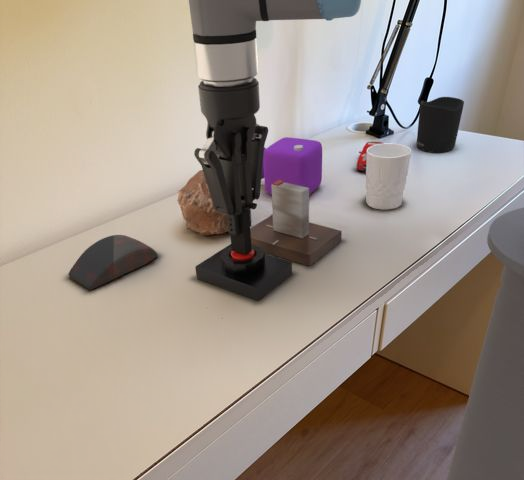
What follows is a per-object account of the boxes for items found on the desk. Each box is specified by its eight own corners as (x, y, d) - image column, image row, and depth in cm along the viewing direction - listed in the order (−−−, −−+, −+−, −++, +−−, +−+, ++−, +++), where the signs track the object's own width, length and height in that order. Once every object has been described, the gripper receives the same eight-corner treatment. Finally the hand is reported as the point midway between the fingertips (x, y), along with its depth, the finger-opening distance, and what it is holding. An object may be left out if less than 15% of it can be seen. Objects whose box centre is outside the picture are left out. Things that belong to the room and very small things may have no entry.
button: (259, 260, 81) (259, 250, 80) (245, 270, 79) (244, 260, 78) (241, 254, 83) (240, 244, 82) (226, 264, 81) (225, 254, 80)
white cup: (376, 214, 97) (381, 160, 91) (355, 199, 103) (358, 147, 97) (413, 206, 100) (420, 152, 93) (389, 191, 105) (395, 140, 99)
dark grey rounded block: (163, 259, 88) (159, 237, 86) (92, 293, 81) (85, 270, 78) (135, 245, 93) (130, 224, 90) (66, 276, 85) (58, 254, 83)
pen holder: (416, 140, 129) (422, 96, 123) (456, 141, 127) (464, 97, 121) (412, 152, 123) (418, 106, 116) (455, 154, 120) (463, 108, 114)
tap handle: (309, 234, 88) (309, 186, 83) (302, 238, 87) (302, 190, 82) (279, 226, 91) (278, 179, 86) (273, 230, 90) (271, 183, 85)
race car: (379, 175, 113) (381, 156, 110) (354, 173, 114) (355, 155, 112) (387, 154, 122) (389, 136, 120) (364, 153, 124) (365, 135, 121)
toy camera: (262, 178, 115) (260, 130, 108) (324, 182, 111) (325, 133, 105) (246, 197, 107) (243, 147, 100) (312, 203, 103) (312, 151, 97)
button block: (292, 274, 82) (292, 251, 80) (257, 301, 77) (256, 277, 74) (232, 255, 88) (230, 233, 86) (196, 278, 83) (193, 256, 80)
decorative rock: (192, 211, 103) (185, 159, 97) (249, 212, 101) (245, 160, 95) (173, 242, 93) (164, 187, 87) (235, 244, 91) (230, 188, 85)
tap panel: (341, 241, 90) (342, 229, 89) (309, 266, 84) (309, 254, 82) (275, 223, 97) (274, 212, 96) (240, 245, 91) (239, 233, 89)
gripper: (237, 66, 71) (248, 228, 85) (169, 87, 63) (194, 262, 77) (283, 71, 67) (286, 239, 82) (217, 94, 59) (234, 276, 74)
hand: (241, 250), depth 80 cm, fingers closed
